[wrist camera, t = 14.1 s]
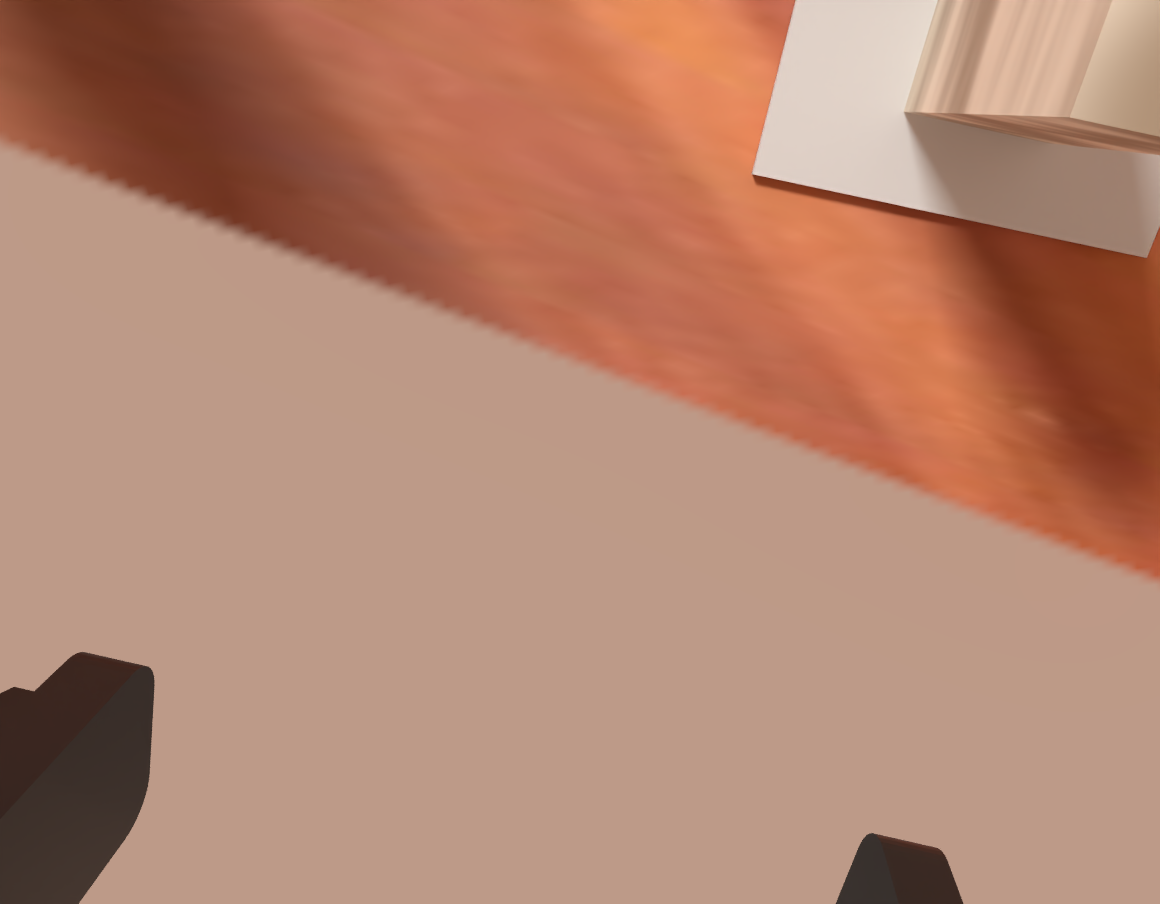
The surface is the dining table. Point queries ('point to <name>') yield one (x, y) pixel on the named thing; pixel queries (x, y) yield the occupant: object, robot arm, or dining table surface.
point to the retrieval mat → (934, 138)
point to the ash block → (1045, 70)
